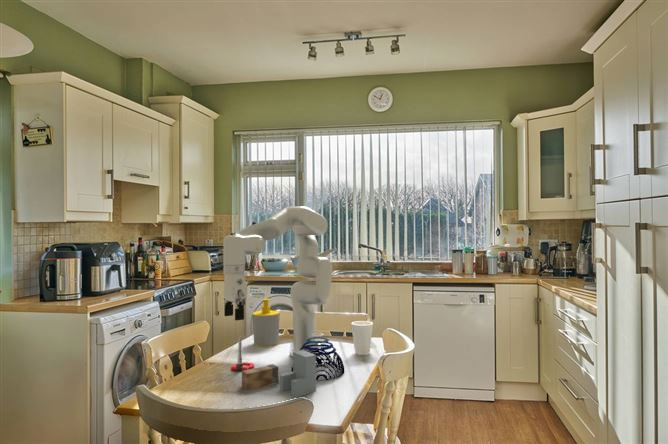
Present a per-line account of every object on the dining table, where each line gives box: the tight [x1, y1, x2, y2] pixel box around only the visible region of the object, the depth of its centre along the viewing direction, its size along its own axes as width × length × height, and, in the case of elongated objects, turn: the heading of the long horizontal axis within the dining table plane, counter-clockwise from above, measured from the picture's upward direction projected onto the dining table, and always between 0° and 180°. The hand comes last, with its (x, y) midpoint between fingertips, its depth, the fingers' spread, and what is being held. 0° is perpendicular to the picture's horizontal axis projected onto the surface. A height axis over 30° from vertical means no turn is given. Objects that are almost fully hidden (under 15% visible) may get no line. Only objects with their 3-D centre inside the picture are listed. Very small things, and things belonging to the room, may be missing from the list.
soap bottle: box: [251, 298, 281, 348], centre depth 214 cm, size 13×13×21 cm
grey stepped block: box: [279, 350, 317, 399], centre depth 152 cm, size 10×9×12 cm
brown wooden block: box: [241, 363, 280, 391], centre depth 158 cm, size 12×4×6 cm, turn 127°
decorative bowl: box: [290, 332, 346, 382], centre depth 171 cm, size 20×20×14 cm
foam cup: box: [350, 320, 374, 356], centre depth 196 cm, size 10×9×13 cm
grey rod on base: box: [230, 336, 255, 372], centre depth 178 cm, size 8×13×9 cm
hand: (234, 317), depth 160 cm, fingers open, 9 cm apart
